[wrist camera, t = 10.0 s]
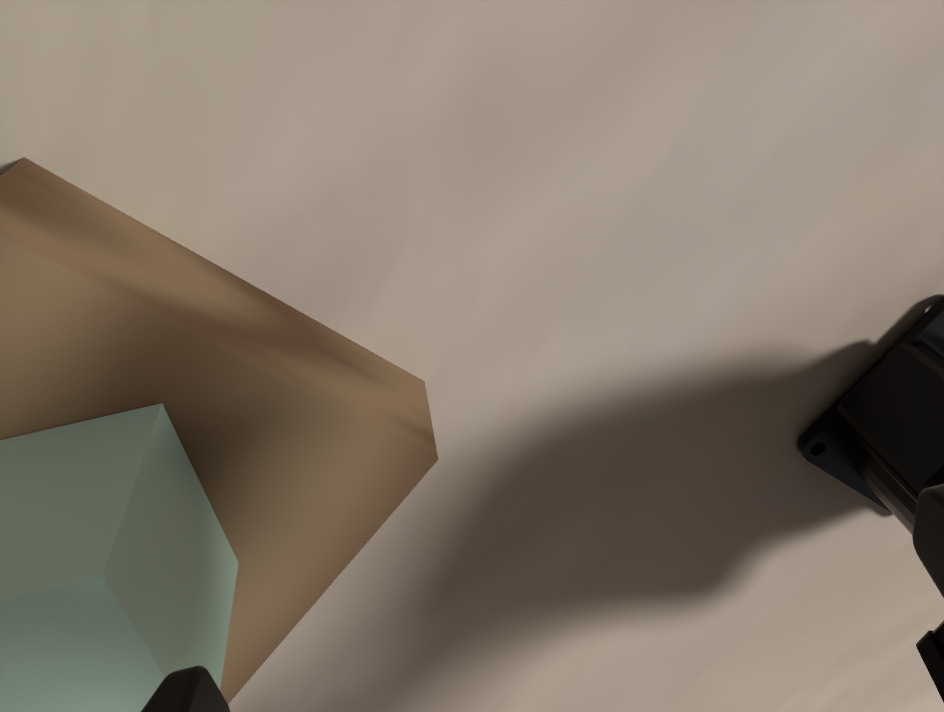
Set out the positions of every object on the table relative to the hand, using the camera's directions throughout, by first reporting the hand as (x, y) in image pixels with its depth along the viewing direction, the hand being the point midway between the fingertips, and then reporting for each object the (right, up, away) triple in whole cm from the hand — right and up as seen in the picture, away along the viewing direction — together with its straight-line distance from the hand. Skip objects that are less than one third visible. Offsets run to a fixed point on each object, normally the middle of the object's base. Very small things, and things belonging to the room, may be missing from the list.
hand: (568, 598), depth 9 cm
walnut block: (-10, +1, +12) cm, 16 cm away
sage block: (-10, -1, +8) cm, 13 cm away
